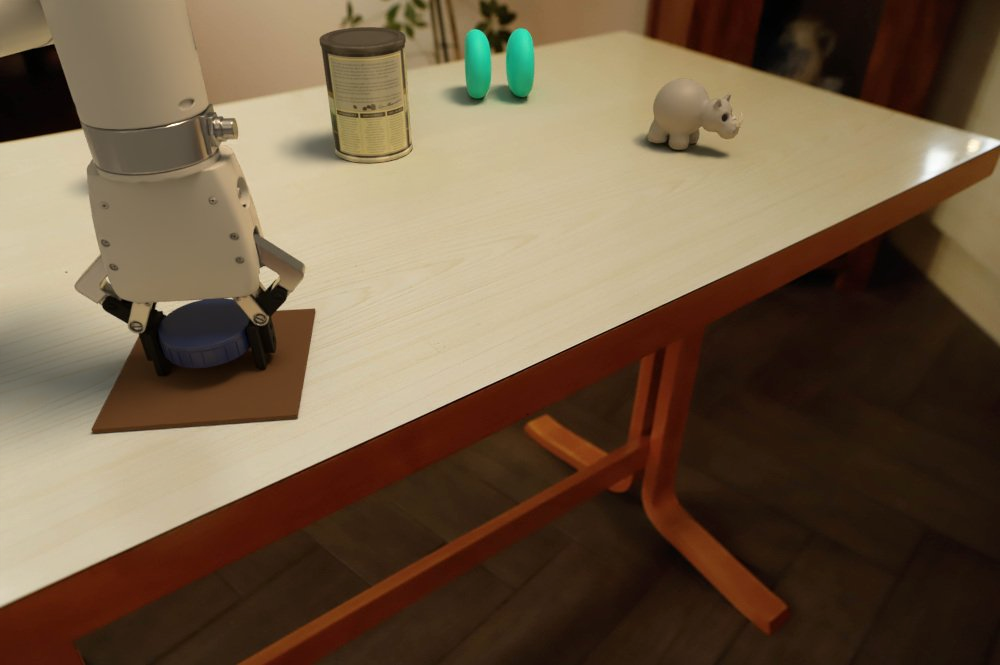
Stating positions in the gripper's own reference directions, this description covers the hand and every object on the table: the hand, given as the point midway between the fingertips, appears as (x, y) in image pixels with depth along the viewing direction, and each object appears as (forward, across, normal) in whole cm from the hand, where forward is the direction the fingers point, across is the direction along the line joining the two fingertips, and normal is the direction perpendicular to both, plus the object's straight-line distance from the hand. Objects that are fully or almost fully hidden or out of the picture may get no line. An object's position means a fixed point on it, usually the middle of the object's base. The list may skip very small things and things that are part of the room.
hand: (216, 360), depth 56 cm
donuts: (+1, -30, -67) cm, 73 cm away
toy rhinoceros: (+1, -53, -42) cm, 68 cm away
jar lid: (-3, 0, 0) cm, 3 cm away
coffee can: (+1, -11, -46) cm, 47 cm away
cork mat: (+1, 0, 0) cm, 1 cm away
